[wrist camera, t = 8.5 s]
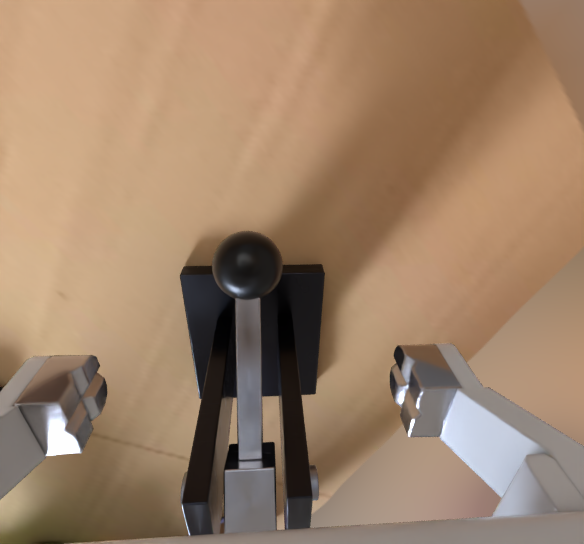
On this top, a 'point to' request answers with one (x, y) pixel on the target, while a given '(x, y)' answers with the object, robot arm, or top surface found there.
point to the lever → (248, 381)
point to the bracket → (275, 382)
